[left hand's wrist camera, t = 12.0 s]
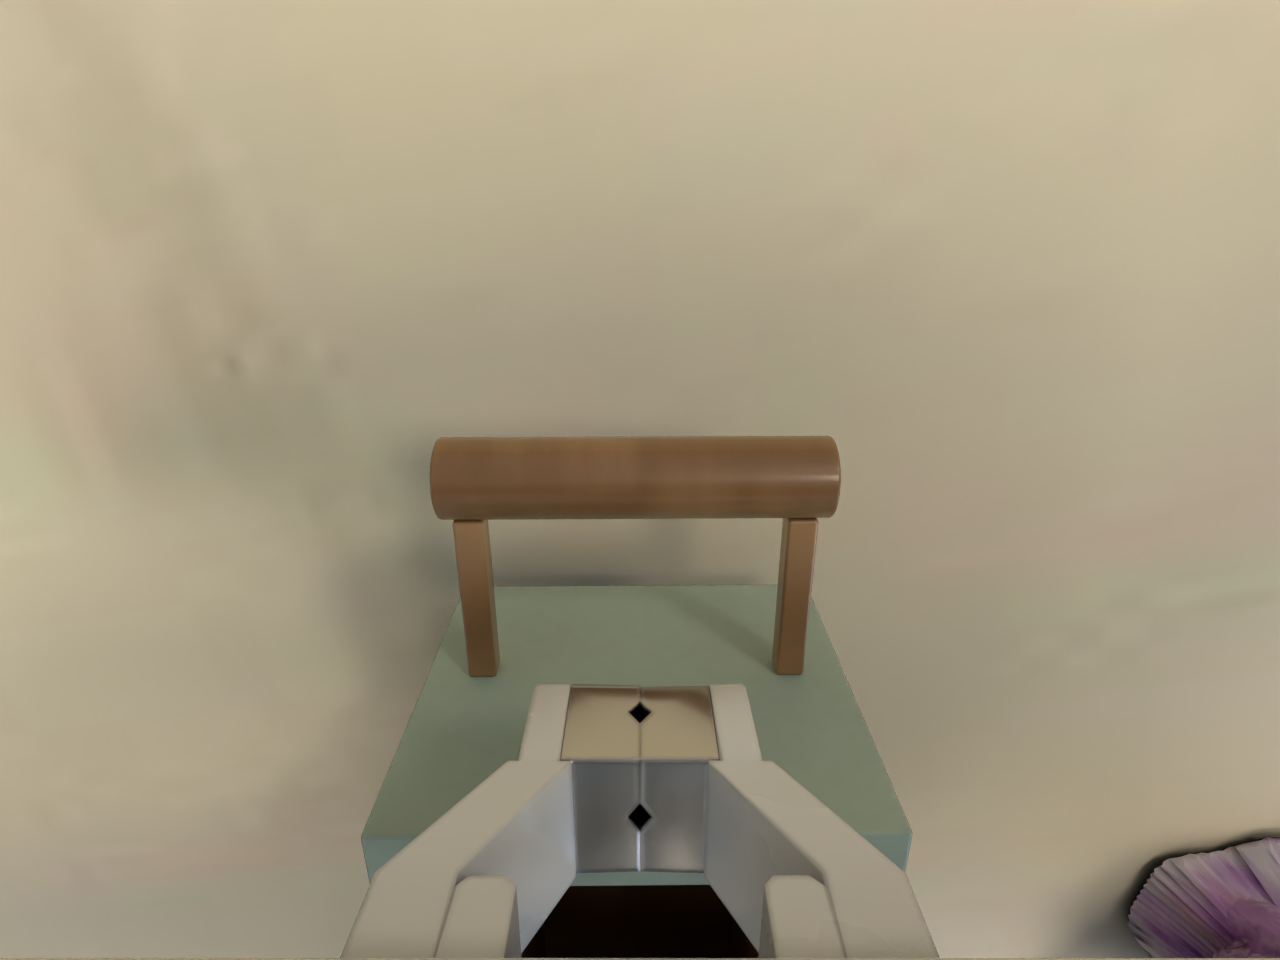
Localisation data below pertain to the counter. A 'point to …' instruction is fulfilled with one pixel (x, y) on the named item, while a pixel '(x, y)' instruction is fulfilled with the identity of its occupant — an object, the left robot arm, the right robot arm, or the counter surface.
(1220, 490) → the counter surface
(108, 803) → the counter surface
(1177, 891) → the figurine
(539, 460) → the drawer
